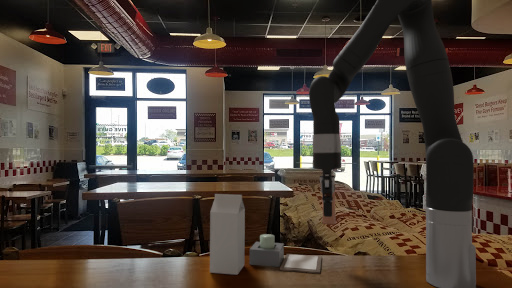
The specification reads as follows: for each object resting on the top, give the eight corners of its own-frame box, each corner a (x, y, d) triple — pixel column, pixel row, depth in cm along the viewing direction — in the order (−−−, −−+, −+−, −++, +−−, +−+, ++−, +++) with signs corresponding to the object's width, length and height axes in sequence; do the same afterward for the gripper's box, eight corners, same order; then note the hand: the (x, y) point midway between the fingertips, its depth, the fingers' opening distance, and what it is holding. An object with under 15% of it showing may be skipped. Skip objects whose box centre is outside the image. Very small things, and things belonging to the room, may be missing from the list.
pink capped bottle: (335, 221, 94) (334, 185, 95) (335, 224, 91) (335, 186, 91) (322, 221, 95) (321, 185, 95) (322, 224, 92) (321, 186, 92)
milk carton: (237, 275, 83) (238, 196, 84) (209, 273, 85) (210, 195, 85) (244, 265, 90) (245, 193, 91) (218, 264, 92) (219, 192, 92)
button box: (283, 257, 98) (283, 243, 98) (279, 266, 90) (279, 251, 90) (256, 255, 99) (256, 241, 99) (249, 264, 91) (249, 249, 92)
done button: (275, 252, 96) (275, 234, 96) (273, 257, 92) (273, 238, 92) (261, 251, 97) (261, 233, 97) (258, 255, 93) (258, 237, 93)
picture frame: (321, 257, 98) (321, 255, 98) (319, 273, 85) (319, 271, 85) (286, 255, 100) (286, 253, 100) (279, 270, 87) (279, 267, 87)
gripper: (341, 150, 86) (342, 220, 85) (340, 151, 100) (341, 211, 99) (311, 151, 88) (312, 219, 87) (314, 151, 101) (315, 210, 101)
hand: (328, 214), depth 93 cm, fingers closed on pink capped bottle, 3 cm apart
